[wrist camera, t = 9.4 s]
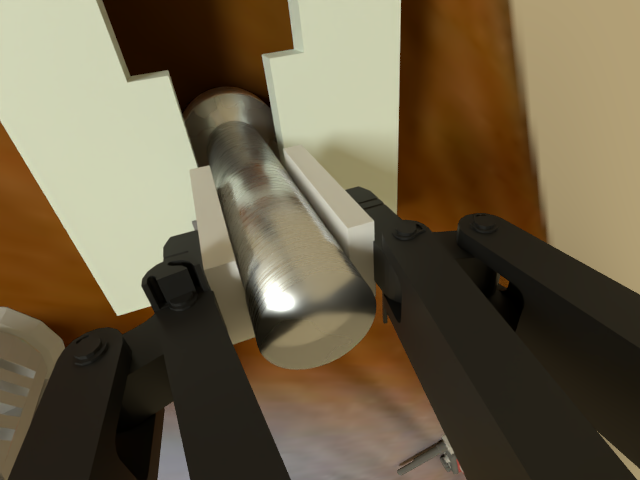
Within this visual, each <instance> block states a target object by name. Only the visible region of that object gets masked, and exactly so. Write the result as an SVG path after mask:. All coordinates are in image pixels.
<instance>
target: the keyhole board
mask: <svg viewBox="0 0 640 480" xmlns="http://www.w3.org/2000/svg"><path fill="white" fill-rule="evenodd" d="M288 5H289V13H290V20H291V28H292V36H293V44H294V49H292V50H286V51H280V52H274V53H268V54H262V59H263V65H264V70H265V76H266V82H267V87H268V93H269V99H270V104H271V110H272V116H273V121H274V127H275V133H276V139H277V144H278V150H279V156H280V161H281V164H282V166H283V167H284V168H285V170H286V171H287V168H286V162H285V156H284V150H283V148H288V147H292V146H296V145H302V146H303V147H304V148H305V149H306V150H307V151H308V152H309V153H310V154H311V155H312V156H313V157H314V158H315V159H316V161H317V162H318V163H319V164H320V165H321V166H322V167H323V168H324V169H325V170H326V171H327V172H328V173H329V174H330V175H331V176H332V177H333V178H334V179H335V180H336V181H337V183H338V184H339V185H340V186H341V187H342V188H343V189H344V190H346V189H350V188H354V187H358V186H359V187H362V188H365V189H367V190H370V191H371V192H372V193H373V194H375V195H376V196H377V197H378V199H380V200H381V201H382V202H383V203H384V204H385V205H387V206H388V207H389V208H390V209H391V210H392V211H393V212H394V213H395V214H396V215H397V182H398V129H399V77H400V24H401V0H288ZM0 121H1V123H2V124H3V126H4V128H5V129H6V131H7V133H8V134H9V136H10V138H11V139H12V141H13V143H14V144H15V146H16V148H17V149H18V151H19V153H20V154H21V156H22V158H23V159H24V161H25V163H26V164H27V166H28V168H29V169H30V171H31V173H32V174H33V176H34V178H35V179H36V181H37V183H38V184H39V186H40V188H41V189H42V191H43V193H44V194H45V196H46V198H47V199H48V201H49V203H50V204H51V206H52V208H53V209H54V211H55V213H56V214H57V216H58V218H59V219H60V221H61V223H62V224H63V226H64V228H65V229H66V231H67V233H68V234H69V236H70V238H71V239H72V241H73V243H74V244H75V246H76V248H77V249H78V251H79V253H80V254H81V256H82V258H83V259H84V261H85V263H86V264H87V266H88V268H89V269H90V271H91V273H92V274H93V276H94V278H95V279H96V281H97V283H98V284H99V286H100V288H101V289H102V291H103V293H104V294H105V296H106V298H107V299H108V301H109V303H110V304H111V306H112V308H113V309H114V311H115V313H116V314H117V316H119V315H122V314H126V313H129V312H132V311H136V310H139V309H142V308H146V307H149V306H151V304H150V302H149V300H148V298H147V296H146V294H145V293H144V291H143V289H142V287H141V283H142V278H143V277H144V276H145V274H146V273H147V271H149V270H150V269H151V268H153V267H154V266H155V265H157V264H159V263H161V262H163V259H164V258H163V247H164V245H165V244H166V242H167V241H168V239H169V238H170V237H172V236H176V235H179V234H183V233H187V232H191V231H195V230H198V227H197V220H196V213H195V206H194V199H193V192H192V185H191V178H190V171H189V170H191V169H195V168H199V166H198V163H197V160H196V157H195V153H194V150H193V147H192V144H191V141H190V137H189V134H188V131H187V128H186V125H185V122H184V118H183V115H182V112H181V109H180V106H179V102H178V99H177V96H176V93H175V90H174V87H173V83H172V80H171V77H170V74H169V71H168V70H165V71H159V72H153V73H147V74H141V75H135V76H130V74H129V71H128V68H127V66H126V63H125V60H124V58H123V55H122V52H121V50H120V47H119V44H118V42H117V39H116V36H115V33H114V31H113V28H112V25H111V23H110V20H109V17H108V15H107V12H106V9H105V7H104V4H103V1H102V0H0Z"/></svg>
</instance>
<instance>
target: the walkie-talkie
mask: <svg viewBox="0 0 640 480" xmlns="http://www.w3.org/2000/svg"><path fill="white" fill-rule="evenodd" d="M442 439H443V441H442V442H440V443H439V444H437V445H436V447H434V448H432V449H430V450H429V451H427V452H425V453H423V454H421V455H420V456H418V457H416V458H414V461H412V462H411V463H409V464H407V465H405V466H404V467H402V468H400V469H399V470H397V473H398V474H399V475H403V474H405V473H407V472H409V471H410V470H412V469H414V468H416V467H418V466H419V465H421V464H423V463H425V462H426V461H428V460H430V459H432V458H433V457H435V456H437V455H439V454H444V457H441V458H440V460H441V462H442V464H443V466H444V468H445V469H446V471H447V472H450V471H451V470H452V472H453V474H458V473H459V472H461V471H462V468H461V466H460V464H459V462H458V460H457V458H456V456H455V454H454V452H453V450H452V448H451V445H450V443H449V441H448V439H447V437H446V435H443V436H442ZM462 473H463V471H462ZM463 474H464V473H463Z"/></svg>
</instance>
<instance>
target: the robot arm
mask: <svg viewBox="0 0 640 480" xmlns="http://www.w3.org/2000/svg"><path fill="white" fill-rule="evenodd" d="M283 150H284V156H285V162H286V168H287V173H288V174H289V175H290V177H291V178H292V180H293V181H294V182H295V184H296V185H297V187H298V188H299V189H300V191H301V192H302V193H303V195H304V196H305V198H306V199H307V200H308V202H309V203H310V205H311V206H312V207H313V209H314V210H315V212H316V213H317V214H318V216H319V217H320V219H321V220H322V221H323V223H324V224H325V226H326V227H327V228H328V230H329V231H330V233H331V234H332V235H333V237H334V238H335V240H336V241H337V242H338V244H339V245H340V246H341V248H342V249H343V251H344V252H345V253H346V255H347V256H348V258H349V259H350V260H351V262H352V263H353V265H354V266H355V267H356V269H357V270H358V272H359V273H360V274H361V276H362V277H363V279H364V280H365V281H366V283H367V284H368V286H369V287H370V288H371V290H372V292H373V294H374V296H376V283H377V285H378V286H379V287H380V289H381V290H382V296H383V322H384V323H387V315H388V316H389V318H390V320H391V322H392V324H393V326H394V328H395V330H396V333H397V335H398V337H399V339H400V341H401V343H402V345H403V347H404V349H405V351H406V353H407V356H408V358H409V360H410V362H411V364H412V366H413V368H414V370H415V372H416V374H417V376H418V379H419V381H420V383H421V385H422V387H423V389H424V391H425V393H426V395H427V397H428V399H429V402H430V404H431V406H432V408H433V410H434V412H435V414H436V416H437V418H438V420H439V422H440V425H441V427H442V429H443V431H444V433H445V435H446V437H447V439H448V441H449V443H450V445H451V448H452V450H453V452H454V454H455V456H456V458H457V460H458V462H459V464H460V466H461V468H462V471H463V473H464V475H465V477H466V479H467V480H637V479H636V478H635V477H634V475H633V474H632V473H631V472H630V471H629V470H628V469H627V467H626V466H625V465H624V463H623V462H622V461H621V460H620V459H619V457H618V456H617V455H616V454H615V453H614V451H613V450H612V449H611V448H610V447H609V445H608V444H607V443H606V442H605V440H604V439H603V438H602V437H601V436H600V434H601V435H602V436H604V437H605V438H606V439H607V440H608V441H609V442H610V443H612V445H614V446H615V447H616V448H617V449H618V450H619V451H620V452H621V453H623V454H624V455H625V456H626V457H627V458H628V459H629V460H630V461H632V462H633V463H634V464H635V465H636V466H637V467H638V468H639V469H640V295H639V294H638V293H636V292H634V291H632V290H630V289H629V288H627V287H625V286H623V285H621V284H619V283H618V282H616V281H614V280H612V279H611V278H608V277H607V276H605V275H603V274H601V273H600V272H598V271H596V270H594V269H592V268H591V267H589V266H587V265H585V264H583V263H582V262H580V261H578V260H576V259H574V258H573V257H571V256H569V255H567V254H565V253H563V252H562V251H560V250H558V249H556V248H554V247H553V246H551V245H549V244H547V243H545V242H544V241H542V240H540V239H538V238H536V237H535V236H533V235H531V234H529V233H527V232H526V231H524V230H522V229H520V228H518V227H516V226H515V225H513V224H511V223H509V222H507V221H506V220H504V219H502V218H499V217H497V216H494V215H490V214H486V213H476V214H470V215H466V216H465V217H463V218H461V219H460V221H459V223H458V229H457V231H446V232H431V230H430V229H429V228H428V227H427V226H425V225H424V224H422V223H419V222H417V221H411V220H402V219H401V218H400V217H398V216H397V215H396V214H395V213H394V212H393V211H392V210H391V209H390V208H389V207H388V206H387V205H385V204H384V203H383V202H382V201H381V200H380V199H378V197H377V196H376V195H375V194H373V193H372V192H371V191H370V190H367V189H365V188H362V187H359V186H358V187H354V188H350V189H346V190H344V189H343V188H342V187H341V186H340V185H339V184H338V183H337V181H336V180H335V179H334V178H333V177H332V176H331V175H330V174H329V173H328V172H327V171H326V170H325V169H324V168H323V167H322V166H321V165H320V164H319V163H318V162H317V161H316V159H315V158H314V157H313V156H312V155H311V154H310V153H309V152H308V151H307V150H306V149H305V148H304V147H303V146H302V145H296V146H292V147H288V148H283ZM189 171H190V178H191V185H192V192H193V199H194V206H195V213H196V220H197V227H198V230H195V231H191V232H187V233H183V234H179V235H176V236H172V237H170V238H169V239H168V241H167V242H166V244H165V245H164V247H163V258H164V259H163V262H161V263H159V264H157V265H155V266H154V267H153V268H151V269H150V270H149V271H147V273H146V274H145V276H144V277H143V278H142V283H141V287H142V289H143V291H144V293H145V294H146V296H147V298H148V300H149V302H150V304H151V306H152V308H153V310H154V312H155V314H154V315H153V316H152V317H151V318H149V319H148V320H147V321H146V322H144V323H142V324H141V325H139V326H138V327H136V328H134V329H132V330H130V331H128V332H127V333H125V334H123V335H122V334H121V333H120V332H119V331H118V330H117V329H113V328H109V327H108V328H99V329H95V330H93V331H90V332H87V333H85V334H83V335H82V336H80V337H78V338H77V339H75V340H73V341H72V342H71V343H70V344H69V345H68V346H67V347H66V348H65V349H64V350H63V351H62V353H61V355H60V356H59V358H58V359H57V361H56V364H55V366H54V369H53V371H52V374H51V376H50V378H49V381H48V383H47V386H46V388H45V390H44V393H43V395H42V398H41V400H40V403H39V405H38V407H37V410H36V412H35V415H34V417H33V419H32V422H31V424H30V427H29V429H28V431H27V434H26V436H25V439H24V441H23V444H22V446H21V448H20V451H19V453H18V456H17V458H16V460H15V463H14V465H13V468H12V470H11V473H10V475H9V477H8V480H157V478H158V468H159V459H160V449H161V439H162V430H163V420H164V411H165V410H164V407H165V406H167V405H168V404H170V403H171V402H173V401H174V406H175V410H176V415H177V420H178V424H179V429H180V434H181V438H182V443H183V448H184V452H185V457H186V462H187V466H188V471H189V476H190V480H291V479H290V477H289V474H288V472H287V470H286V467H285V465H284V463H283V460H282V458H281V456H280V453H279V451H278V449H277V446H276V444H275V442H274V439H273V437H272V435H271V432H270V430H269V428H268V425H267V423H266V421H265V418H264V416H263V414H262V411H261V409H260V407H259V404H258V402H257V400H256V397H255V395H254V393H253V390H252V388H251V386H250V383H249V381H248V379H247V376H246V374H245V372H244V369H243V367H242V365H241V362H240V360H239V358H238V355H237V353H236V351H235V348H234V346H233V344H236V343H239V342H242V341H245V340H248V339H251V338H254V337H255V334H254V330H253V326H252V323H251V319H250V315H249V311H248V308H247V304H246V299H245V291H244V288H243V284H242V280H241V277H240V273H239V269H238V266H237V262H236V258H235V255H234V251H233V248H232V244H231V240H230V237H229V233H228V229H227V226H226V222H225V218H224V215H223V211H222V207H221V204H220V200H219V196H218V193H217V189H216V186H215V183H214V179H213V176H212V172H211V169H210V166H209V165H208V166H204V167H199V168H195V169H191V170H189ZM500 275H501V276H503V277H504V278H506V279H507V280H508V281H509V285H508V288H505V287H503V286H501V285H500V284H499V283H498V282H499V278H500ZM375 282H376V283H375ZM595 429H596V430H597V431H598V432H599V433H600V434H599V433H598V432H597V431H596V430H595Z"/></svg>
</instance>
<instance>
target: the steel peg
mask: <svg viewBox="0 0 640 480" xmlns="http://www.w3.org/2000/svg"><path fill="white" fill-rule="evenodd" d="M182 115H183V118H184V122H185V125H186V128H187V131H188V134H189V137H190V141H191V144H192V147H193V150H194V153H195V157H196V160H197V163H198V166H199V167H204V166H208V165H209V166H210V169H211V172H212V176H213V179H214V183H215V186H216V189H217V193H218V196H219V200H220V204H221V207H222V211H223V215H224V218H225V222H226V226H227V229H228V233H229V237H230V240H231V244H232V248H233V251H234V255H235V258H236V262H237V266H238V269H239V273H240V277H241V280H242V284H243V288H244V291H245V299H246V304H247V308H248V311H249V315H250V319H251V323H252V326H253V330H254V334H255V337H256V341H257V345H258V348H259V350H260V352H261V354H262V355H263V356H264V357H265V358H266V359H267V360H268V361H269V362H271V363H272V364H274V365H276V366H279V367H282V368H286V369H296V370H297V369H309V368H314V367H318V366H321V365H324V364H327V363H329V362H332V361H334V360H336V359H338V358H339V357H341V356H343V355H344V354H346V353H347V352H349V351H350V350H351V349H352V348H354V347H355V346H356V345H357V344H358V343H359V342H360V341H361V340H362V339H363V337H364V336H365V335H366V333H367V332H368V330H369V329H370V327H371V325H372V323H373V320H374V317H375V313H376V299H375V296H374V294H373V292H372V290H371V288H370V287H369V286H368V284H367V283H366V281H365V280H364V279H363V277H362V276H361V274H360V273H359V272H358V270H357V269H356V267H355V266H354V265H353V263H352V262H351V260H350V259H349V258H348V256H347V255H346V253H345V252H344V251H343V249H342V248H341V246H340V245H339V244H338V242H337V241H336V240H335V238H334V237H333V235H332V234H331V233H330V231H329V230H328V228H327V227H326V226H325V224H324V223H323V221H322V220H321V219H320V217H319V216H318V214H317V213H316V212H315V210H314V209H313V207H312V206H311V205H310V203H309V202H308V200H307V199H306V198H305V196H304V195H303V193H302V192H301V191H300V189H299V188H298V187H297V185H296V184H295V182H294V181H293V180H292V178H291V177H290V175H289V174H288V173H287V171H286V170H285V168H284V167H283V166H282V164H281V161H280V156H279V150H278V144H277V139H276V133H275V127H274V121H273V116H272V110H271V109H270V108H269V107H268V106H267V105H266V104H265V103H264V102H263V101H262V100H261V99H260V98H259V97H257V96H256V95H254V94H253V93H251V92H249V91H246V90H244V89H240V88H236V87H217V88H213V89H210V90H207V91H205V92H203V93H201V94H200V95H198V96H197V97H196V98H194V99H193V100H192V101H191V102H190V103H189V104H188V106H187V107H186V109H185V110H184V112H183V114H182Z"/></svg>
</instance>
